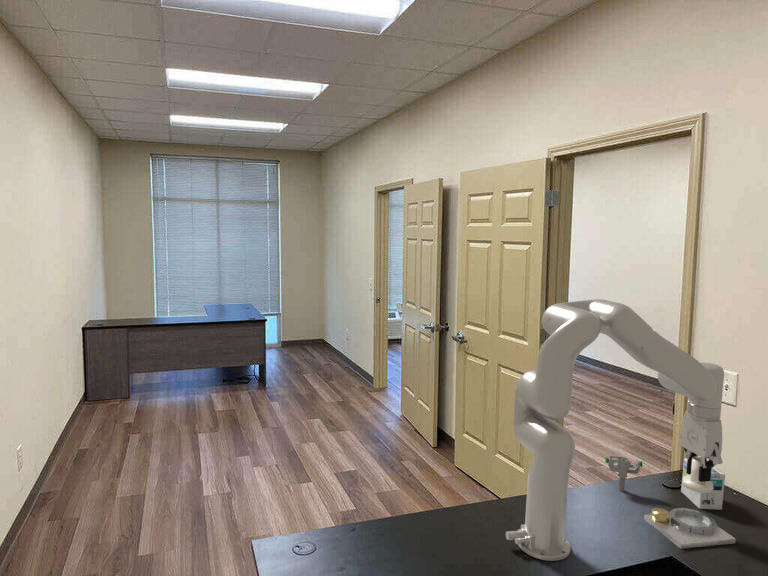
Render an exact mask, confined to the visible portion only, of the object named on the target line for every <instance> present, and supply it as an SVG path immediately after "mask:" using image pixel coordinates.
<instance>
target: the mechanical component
mask: <svg viewBox="0 0 768 576" xmlns="http://www.w3.org/2000/svg"><path fill="white" fill-rule="evenodd" d="M604 459H605V461H604V462H605V464H607V466H608V468H609V470H610V471H611V472H612V473H613V472H615V473H618V474H617V476H618V477H619V481H618V490H619V492H622V493H623V492H625V485H626V479H627V478H628V474H630V475H631V474H632V475H638V474H639V473H640V470H641V467H643V461H642V460H639V459H636V460H635V462H634V463H631V461H630V459H629V458H628V457H625V456H615V455H607V457H605V458H604Z"/></svg>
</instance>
